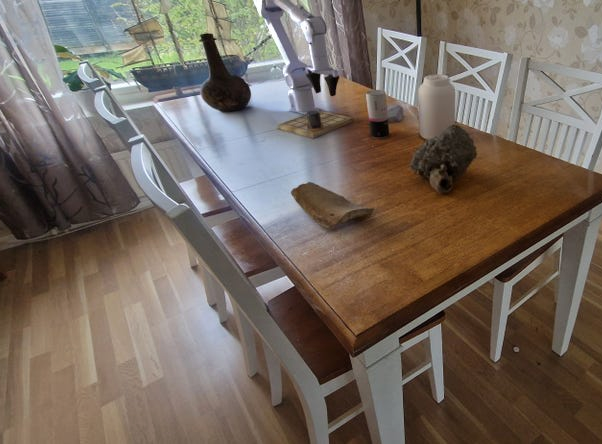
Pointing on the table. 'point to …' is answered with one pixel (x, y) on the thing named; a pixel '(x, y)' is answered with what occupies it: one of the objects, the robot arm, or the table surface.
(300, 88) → the robot arm
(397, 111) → the stone block
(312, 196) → the fossil
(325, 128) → the board
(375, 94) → the beverage can
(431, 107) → the white jar
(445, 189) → the encrusted bottle
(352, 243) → the table surface
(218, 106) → the glass bottle
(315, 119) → the black canister
